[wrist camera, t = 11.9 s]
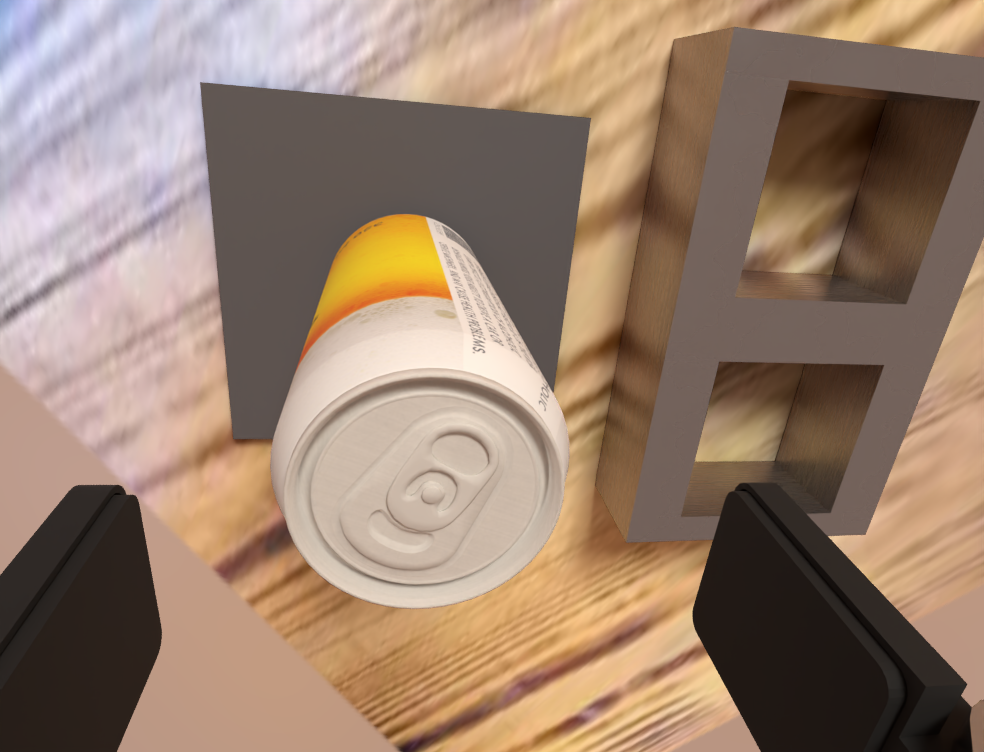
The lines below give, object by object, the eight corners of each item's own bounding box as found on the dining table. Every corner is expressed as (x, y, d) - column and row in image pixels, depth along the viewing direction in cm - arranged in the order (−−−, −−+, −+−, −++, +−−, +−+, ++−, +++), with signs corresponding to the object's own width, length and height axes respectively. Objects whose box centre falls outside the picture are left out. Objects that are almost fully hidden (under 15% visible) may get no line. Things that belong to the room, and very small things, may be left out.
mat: (204, 82, 22) (200, 82, 21) (587, 117, 24) (590, 118, 24) (235, 433, 27) (233, 439, 27) (544, 433, 30) (547, 438, 29)
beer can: (301, 307, 25) (197, 553, 11) (382, 178, 23) (375, 283, 10) (427, 380, 27) (467, 661, 14) (509, 266, 26) (647, 453, 12)
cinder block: (674, 39, 23) (734, 27, 19) (946, 70, 26) (1052, 65, 21) (595, 485, 31) (625, 542, 27) (807, 481, 33) (865, 534, 29)
